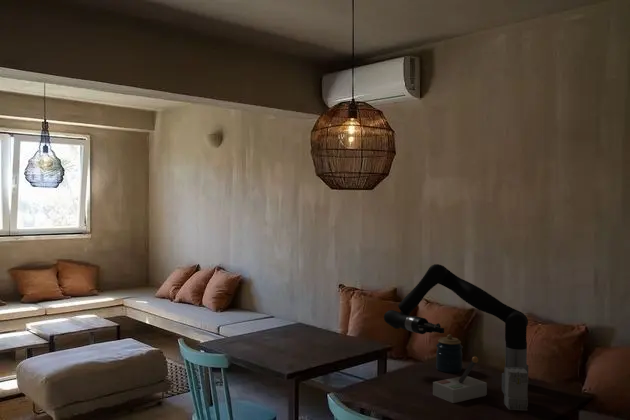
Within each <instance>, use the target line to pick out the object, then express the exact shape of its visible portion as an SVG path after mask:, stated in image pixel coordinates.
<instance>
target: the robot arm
mask: <svg viewBox="0 0 630 420" xmlns="http://www.w3.org/2000/svg"><path fill="white" fill-rule="evenodd" d="M438 284H439V285H441V286H442V287H444V288H447V289H449V290H450V291H452V292H453V293H454V294H456V295H457V297H459V298H460V299H461V300H462V301H464V302H465V303H467V304H468V305H469V306H471V307H473V308H474V309H477V310H479V311H480V312H484V313H485V314H489V315H492V316H494V317H496V318H497V319H499V320H501V321H502V322H504V326H505V327H504V334H505V335H504V341H505V360H504V361H505V363H504V364H505V365H504V368H505V367H520V368H524V369H525V370H526V371H527V372H528V374H527V376H528V377H529V365H528V364H527V363H528V362H527V361H528V359H527V358H528V342H527V341H528V339H527V327H528V325H529V319H528V317H527V315H526V314H525V313H524V312H522V311H519V310H518V309H515V308H514V307H511V306H509V305H507V304H505V303H503V302H502V301H500V300H499V299H497V297H495V296H494V295H492V294H490V293H488V291H486V290H484V289H482V288H481V287H478V286H477V285H475V284H473V283H471V282H469V281H467V280H465V279H463V278H461V277H459V276H457V275H456V274H454V273H453V272H452V271H451V270H449V269H448V268H447V267H446V266H444V265H442V264H437V263H434V264H432V265H431V266H430V267H428V269H427V270H426V272H425V274H423V276H422V278H421V280H420V281H419V282H418V283H417V284H416V285H415V287H413V289H412V290H411V291H410V292H409V293H407V295H406V296H404V298H403V299H402V300H401V301H400V302H399V303H398V309H399V310H400V311H397V310H394V309H389V310H387V311H386V312H385V313H384V314H383V321H384V322H385V323H386V324H388V326H390V327H392V328H394V329H396V330H398V329H403V330H405V331H409V332H412V333H414V334H415V333H416V334H420V335H425V334H426V333H430V334H431V333H438V334H444V333H445V328H444V327H441V324H440V323H439V322H438V323H436V324H435V323H433V322H429V320H428V319H427V318H425V317H421V316H416V315H410V314H411V313H412V312H413V311H414V310H415V309H416V308H417V306H418V305H419V304H420V303H421V302H422V300H423V299H424V298H425V296H426V295H427V294H428V293H429V292H430V291H431V290H432V289H433V288H435V286H437V285H438Z"/></svg>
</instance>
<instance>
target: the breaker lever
mask: <svg viewBox="0 0 630 420" xmlns="http://www.w3.org/2000/svg"><path fill="white" fill-rule="evenodd" d="M478 363H479V358H478V357H477V356H472V358H471V361H470V363H469V364H468V366H467V367H466V368H465V370H464V371H463V372H462V375H461V376H460V377H461V378H460V379H459V382H460V383H463V381H464V380H465V378H466V377H467V376H468V375H469V373H470V372H471V371H472V370H473V368H474V366H475V365H476V364H478Z"/></svg>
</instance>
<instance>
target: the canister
mask: <svg viewBox="0 0 630 420" xmlns="http://www.w3.org/2000/svg"><path fill="white" fill-rule="evenodd" d="M437 342H438V343H437V344H435V347H436V348H437V350H436V352H435V353H436V355H435V358H436V359H435V362H436V363H435V367H436V370H438V371H439V372H443V373H451V374H453V373H454V374H456V373H460V372H462V370H463V351H462V349H463V348H464V347H463V344H461V343H462V341H461V340H460V339H459V338H457V337H453V335H452V334H451V333H449V334H447V335H446V336H443V337H440V338H439V339H438V340H437Z"/></svg>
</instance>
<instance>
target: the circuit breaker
mask: <svg viewBox="0 0 630 420" xmlns="http://www.w3.org/2000/svg"><path fill="white" fill-rule="evenodd" d="M527 374H528V376H527ZM528 387H529V371H528V372H527V371H526V370H525V369H524V368H520V367H505V366H504V371H503V372H502V373H501V392H502V393H503V397H504V398H503V404H504V405H505V406H506V408H507V409H508V410H510V411H511V410H512V411H529V410H528V406H529V398H528Z"/></svg>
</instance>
